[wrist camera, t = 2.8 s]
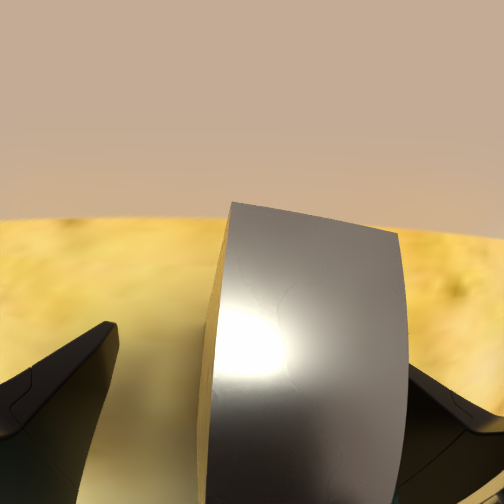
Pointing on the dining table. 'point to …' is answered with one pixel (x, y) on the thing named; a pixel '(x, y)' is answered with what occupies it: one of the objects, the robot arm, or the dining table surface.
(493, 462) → the robot arm
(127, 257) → the dining table surface
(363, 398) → the token
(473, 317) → the dining table surface
